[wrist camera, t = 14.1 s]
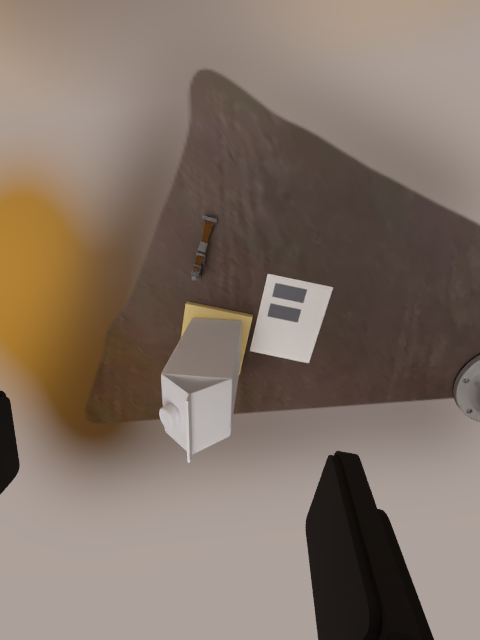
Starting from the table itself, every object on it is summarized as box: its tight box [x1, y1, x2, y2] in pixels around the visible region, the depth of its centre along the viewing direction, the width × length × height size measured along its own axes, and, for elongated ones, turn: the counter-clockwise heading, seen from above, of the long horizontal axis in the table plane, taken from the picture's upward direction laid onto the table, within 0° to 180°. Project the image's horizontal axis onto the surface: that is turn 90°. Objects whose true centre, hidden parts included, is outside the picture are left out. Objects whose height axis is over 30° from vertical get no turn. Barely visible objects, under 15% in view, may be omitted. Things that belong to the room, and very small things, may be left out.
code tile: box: [250, 274, 333, 363], centre depth 46 cm, size 9×12×1 cm
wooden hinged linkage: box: [191, 216, 217, 281], centre depth 42 cm, size 2×8×4 cm, turn 166°
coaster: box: [181, 301, 253, 374], centre depth 47 cm, size 10×10×1 cm
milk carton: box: [159, 318, 242, 463], centre depth 38 cm, size 7×7×19 cm
